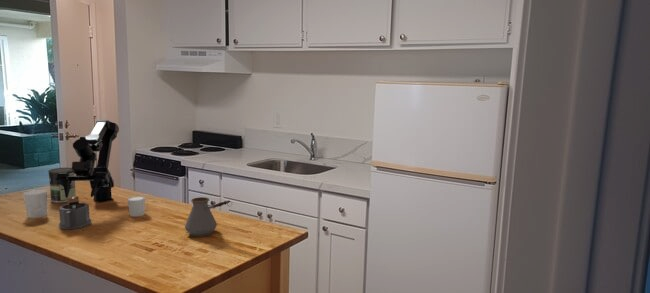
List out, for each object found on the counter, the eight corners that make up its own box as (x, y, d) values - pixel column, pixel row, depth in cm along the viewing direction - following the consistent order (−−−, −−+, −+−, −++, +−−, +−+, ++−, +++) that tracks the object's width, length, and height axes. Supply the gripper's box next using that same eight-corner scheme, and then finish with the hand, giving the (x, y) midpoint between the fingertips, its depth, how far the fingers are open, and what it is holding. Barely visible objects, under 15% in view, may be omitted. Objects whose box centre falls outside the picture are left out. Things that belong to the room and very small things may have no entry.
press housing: (65, 220, 175) (64, 202, 174) (95, 219, 177) (94, 201, 176) (51, 231, 162) (50, 212, 161) (84, 230, 164) (82, 211, 163)
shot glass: (124, 215, 182) (123, 199, 181) (137, 211, 189) (136, 195, 187) (137, 217, 180) (136, 201, 179) (149, 213, 186) (149, 197, 185)
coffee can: (47, 203, 198) (45, 172, 195) (54, 197, 207) (51, 168, 205) (73, 201, 201) (71, 171, 198) (78, 195, 210) (76, 167, 208)
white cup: (52, 214, 182) (51, 191, 181) (33, 220, 175) (31, 195, 174) (40, 211, 186) (38, 188, 184) (21, 217, 178) (19, 193, 177)
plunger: (68, 215, 173) (67, 195, 171) (87, 215, 174) (86, 194, 173) (61, 221, 166) (60, 200, 165) (81, 220, 167) (79, 199, 166)
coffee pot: (178, 234, 163) (176, 194, 160) (202, 225, 172) (201, 188, 170) (219, 247, 151) (218, 204, 149) (242, 237, 160) (242, 197, 158)
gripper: (55, 153, 175) (45, 187, 166) (105, 152, 178) (98, 186, 169) (64, 168, 184) (56, 201, 175) (112, 167, 187) (106, 199, 178)
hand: (78, 196), depth 174 cm, fingers open, 9 cm apart
